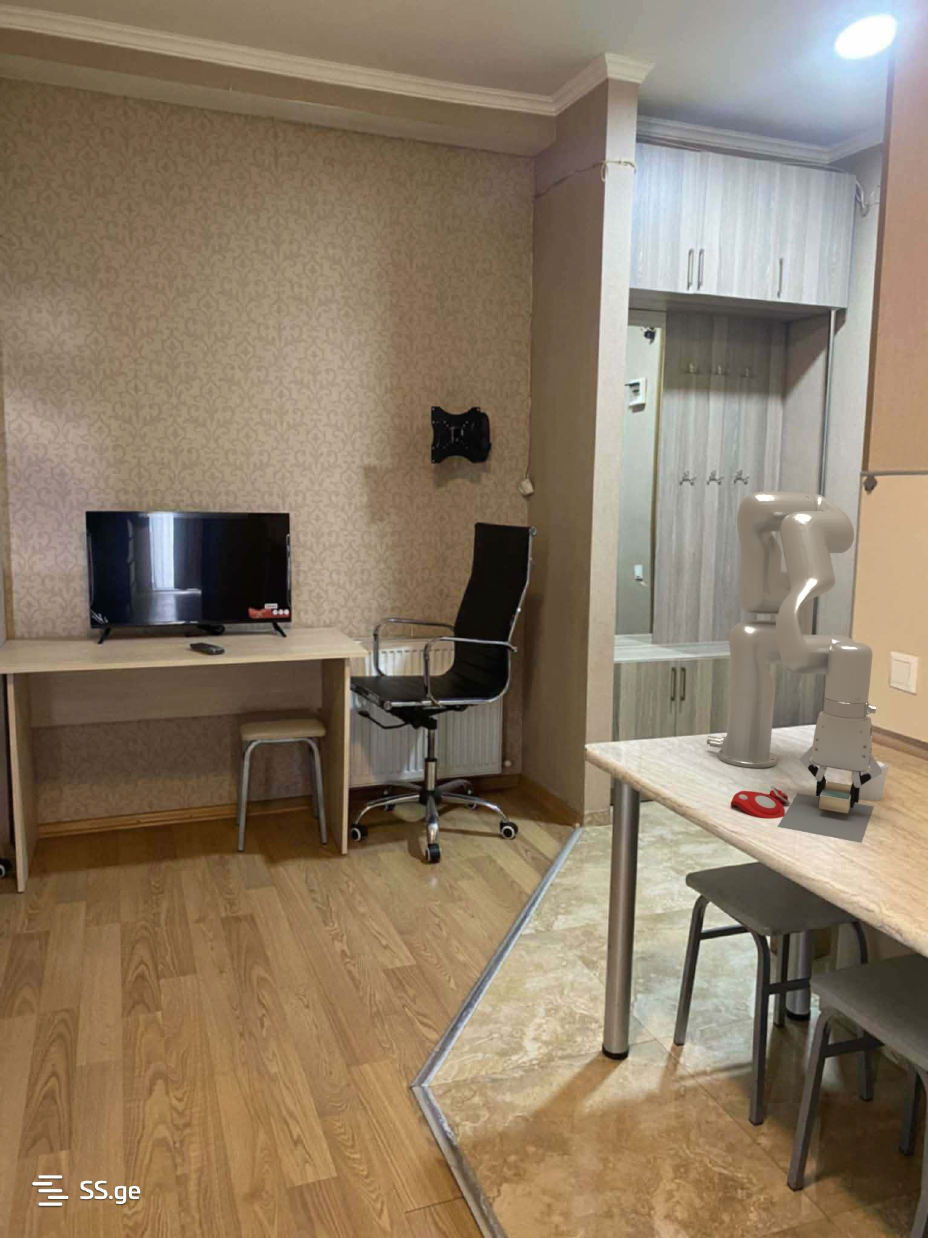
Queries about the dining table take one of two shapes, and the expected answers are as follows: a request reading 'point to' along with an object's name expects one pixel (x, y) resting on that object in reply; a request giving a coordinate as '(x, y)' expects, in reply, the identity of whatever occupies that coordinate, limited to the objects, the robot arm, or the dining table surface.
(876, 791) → the white cylinder
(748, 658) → the robot arm
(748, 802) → the tracker holder
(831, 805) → the birch tile
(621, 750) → the dining table surface
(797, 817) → the rubber mat
